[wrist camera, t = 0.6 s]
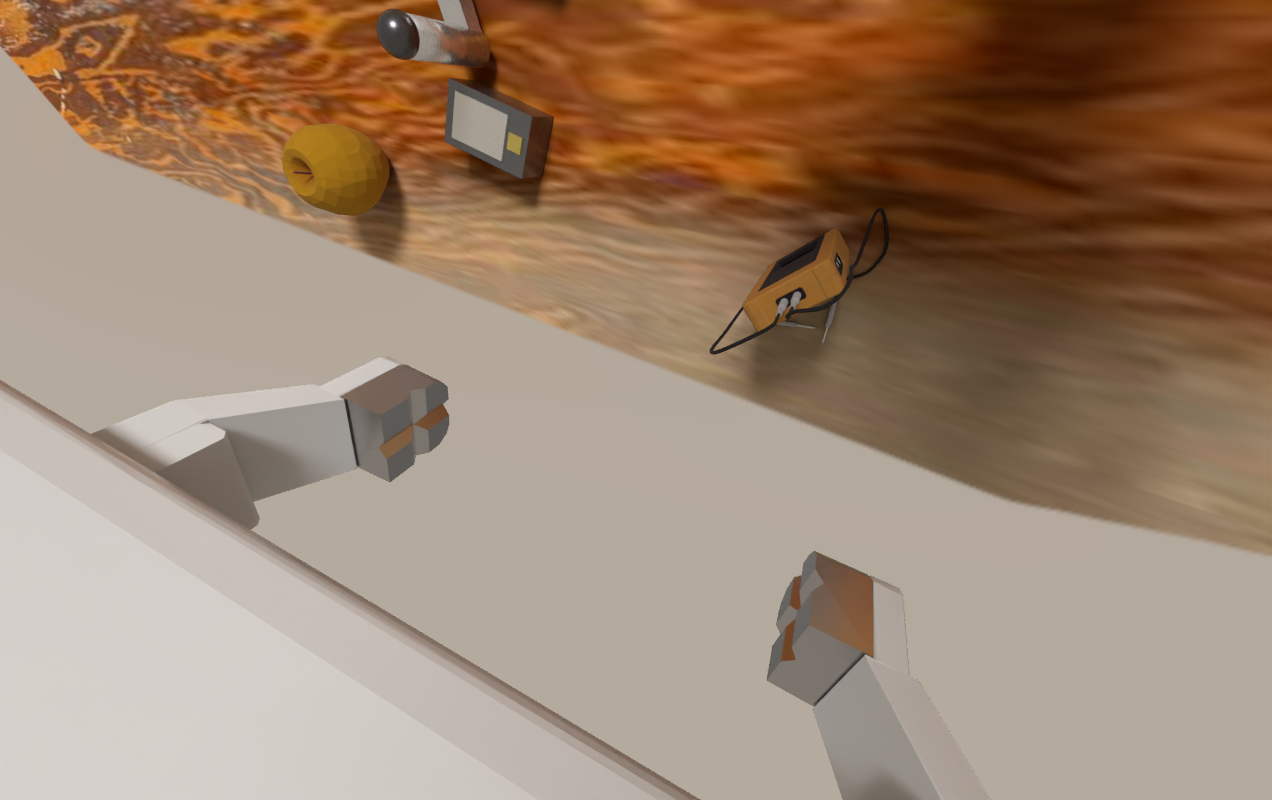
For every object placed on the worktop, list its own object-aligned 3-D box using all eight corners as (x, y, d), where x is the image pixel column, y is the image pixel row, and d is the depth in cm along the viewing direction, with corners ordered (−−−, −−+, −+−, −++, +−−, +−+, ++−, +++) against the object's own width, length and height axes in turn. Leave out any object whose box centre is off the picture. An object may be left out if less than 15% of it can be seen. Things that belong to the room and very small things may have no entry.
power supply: (475, 80, 51) (447, 77, 48) (553, 116, 50) (531, 116, 46) (469, 140, 55) (443, 141, 51) (542, 175, 53) (520, 179, 50)
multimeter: (782, 361, 52) (745, 465, 37) (736, 283, 50) (676, 358, 34) (926, 297, 44) (960, 397, 28) (879, 201, 42) (887, 250, 26)
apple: (413, 215, 63) (334, 232, 53) (357, 196, 65) (271, 209, 56) (406, 132, 57) (317, 135, 48) (345, 114, 59) (248, 113, 50)
